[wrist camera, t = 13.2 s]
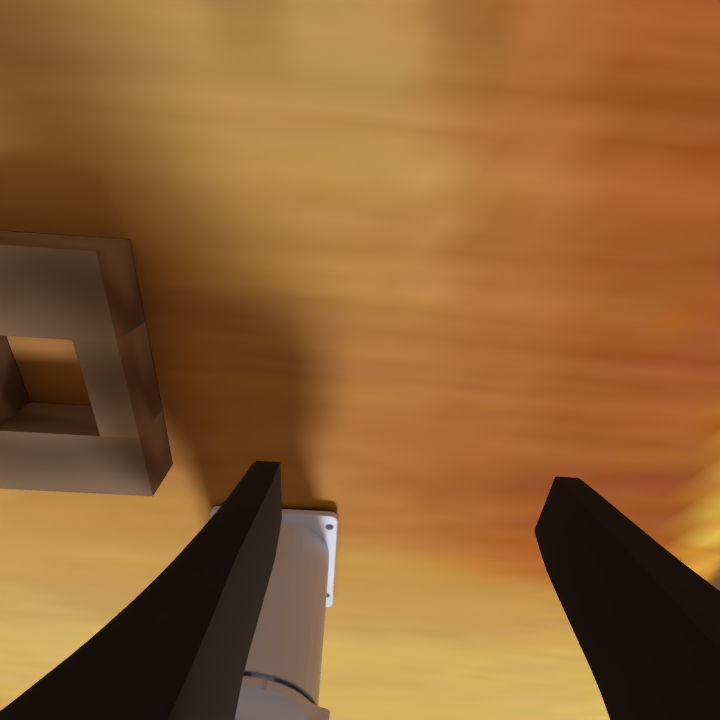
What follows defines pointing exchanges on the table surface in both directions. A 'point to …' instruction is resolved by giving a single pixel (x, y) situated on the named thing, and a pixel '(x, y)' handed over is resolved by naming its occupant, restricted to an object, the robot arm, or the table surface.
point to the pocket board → (97, 362)
